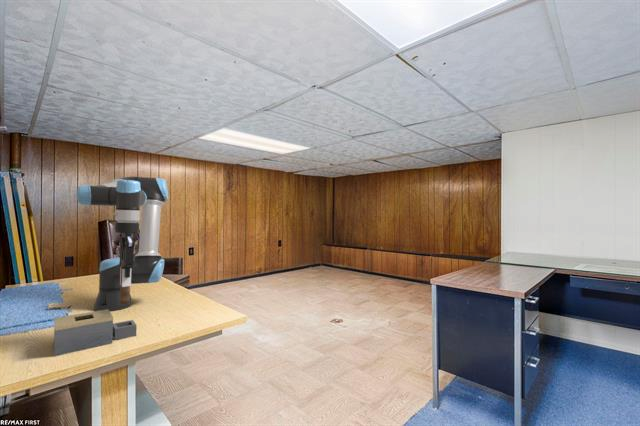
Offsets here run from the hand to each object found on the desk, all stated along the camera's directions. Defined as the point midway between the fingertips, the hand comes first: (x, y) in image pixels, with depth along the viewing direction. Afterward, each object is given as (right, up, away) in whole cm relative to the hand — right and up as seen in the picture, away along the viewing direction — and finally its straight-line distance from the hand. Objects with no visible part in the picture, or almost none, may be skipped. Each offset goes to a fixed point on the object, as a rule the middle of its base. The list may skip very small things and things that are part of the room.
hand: (125, 285), depth 111 cm
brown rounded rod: (0, -7, 0) cm, 7 cm away
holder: (-1, -19, 0) cm, 19 cm away
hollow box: (-9, -18, -8) cm, 22 cm away
